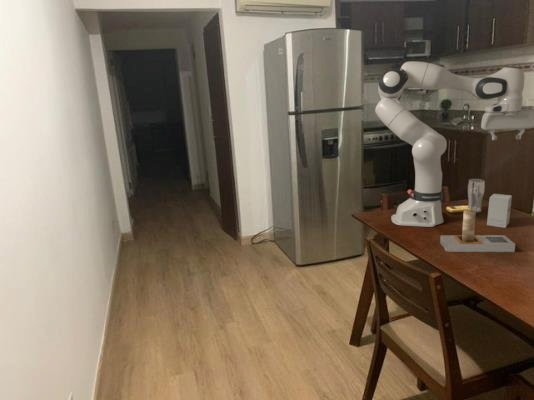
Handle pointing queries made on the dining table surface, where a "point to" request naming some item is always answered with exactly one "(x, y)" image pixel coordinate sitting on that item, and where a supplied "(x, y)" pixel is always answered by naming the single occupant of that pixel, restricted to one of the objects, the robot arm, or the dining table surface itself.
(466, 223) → the peg
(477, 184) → the beer glass
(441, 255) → the dining table surface
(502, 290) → the dining table surface
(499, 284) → the dining table surface
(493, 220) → the supplement box
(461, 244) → the board
